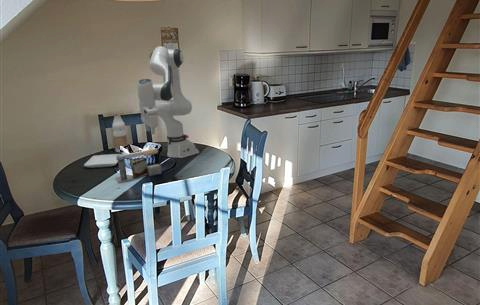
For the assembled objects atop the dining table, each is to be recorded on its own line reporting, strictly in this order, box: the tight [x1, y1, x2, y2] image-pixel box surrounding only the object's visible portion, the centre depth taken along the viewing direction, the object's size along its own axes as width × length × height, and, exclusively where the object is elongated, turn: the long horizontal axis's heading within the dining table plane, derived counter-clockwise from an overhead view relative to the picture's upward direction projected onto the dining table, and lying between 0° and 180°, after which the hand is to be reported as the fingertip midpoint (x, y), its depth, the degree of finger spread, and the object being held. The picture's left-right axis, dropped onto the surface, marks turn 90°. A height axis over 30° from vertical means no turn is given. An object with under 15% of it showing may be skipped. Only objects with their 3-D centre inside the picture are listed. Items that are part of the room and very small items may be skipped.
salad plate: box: [83, 153, 121, 169], centre depth 250 cm, size 21×21×3 cm
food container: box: [129, 156, 148, 179], centre depth 224 cm, size 12×6×10 cm, turn 149°
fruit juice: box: [111, 112, 129, 153], centre depth 272 cm, size 9×9×28 cm
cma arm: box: [116, 148, 159, 160], centre depth 220 cm, size 24×6×2 cm, turn 121°
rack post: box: [115, 159, 133, 184], centre depth 217 cm, size 8×8×13 cm
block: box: [146, 163, 163, 177], centre depth 226 cm, size 8×5×5 cm, turn 120°
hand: (150, 132), depth 212 cm, fingers open, 8 cm apart
